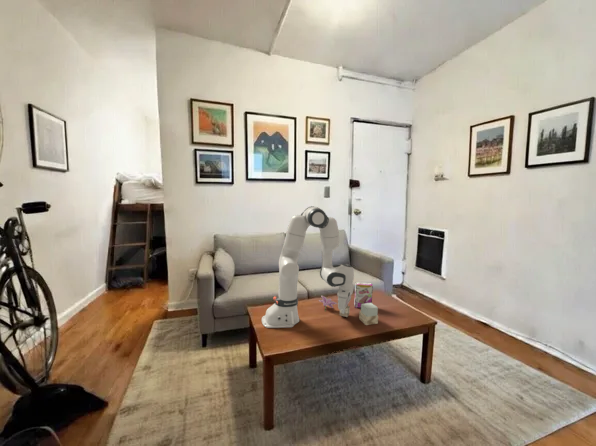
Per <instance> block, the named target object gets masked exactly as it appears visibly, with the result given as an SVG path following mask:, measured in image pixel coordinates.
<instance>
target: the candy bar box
mask: <svg viewBox="0 0 596 446" xmlns="http://www.w3.org/2000/svg"><path fill="white" fill-rule="evenodd" d="M354 284H355V285H354V286H355V287H354V302H353V304H354V308H355V309H357V308H358V309H361V304H365V303H372V304H373V289H374V285H373V283H371V282H362V281H361V282H357V281H356V282H355V283H354Z"/></svg>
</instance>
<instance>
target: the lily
mask: <svg viewBox="0 0 596 446" xmlns="http://www.w3.org/2000/svg"><path fill="white" fill-rule="evenodd" d="M320 296H321V299H318V302H320V303H323V307H325V308H324V309H325V310H324V312H326V308H327V307H330V308H331V309H334V307H333V305H338V302H336V301H334V300H332V298H327V297H326V296H324V295H320Z"/></svg>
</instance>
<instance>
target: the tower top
mask: <svg viewBox="0 0 596 446" xmlns="http://www.w3.org/2000/svg"><path fill="white" fill-rule="evenodd" d="M360 311H361V312H362V313H363V314H364V315H365V316H366V317H370V316H377V315H378V312H379V308H378V306H377V305H376V304H373V302H372V303H365V304H361V308H360Z"/></svg>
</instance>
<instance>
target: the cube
mask: <svg viewBox="0 0 596 446" xmlns="http://www.w3.org/2000/svg"><path fill="white" fill-rule="evenodd" d="M350 307H351V305H348V306H346V308H345V314H342V310H339V316H341V317H346V318H348V317H349V315H350Z"/></svg>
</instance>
